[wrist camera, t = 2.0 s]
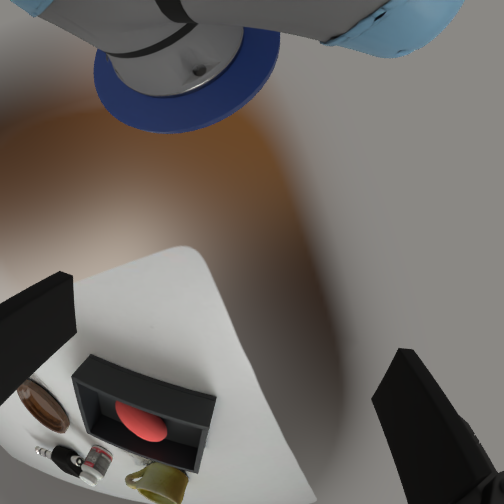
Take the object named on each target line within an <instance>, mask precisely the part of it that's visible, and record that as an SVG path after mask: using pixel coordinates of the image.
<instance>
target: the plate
mask: <svg viewBox="0 0 504 504" xmlns="http://www.w3.org/2000/svg"><path fill="white" fill-rule="evenodd" d="M17 393H18V395H19V397H20V399H21V401H22V403H23V404H24V405H25V407H26V408H27V410H28V411H29V412H30V413H31V414H32V415H33V416H34V417H35V418H36V419H37V420H38V421H39V422H40V423H42V424H43V425H44V426H46V427H47V428H49V429H50V430H52V431H54V432H57V433H65V432H66V431H67V429H68V428H69V425H70V423H69V420H68V417H67V415H66V414H65V412H64V411H63V409H62V408H61V406H60V405H59V404H58V403H57V401H56V400H55V399H54V398H53V397H52V396H51V395H50V394H49V393H48V392H47V391H45V390H44V389H43V388H42V387H40V386H39V385H37V384H35V383H34V382H32V381H29V380H26V381H25V382H24V383H23V384H22V385H21V386H20V387H19V388H18V389H17Z"/></svg>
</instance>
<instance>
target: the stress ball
mask: <svg viewBox="0 0 504 504" xmlns="http://www.w3.org/2000/svg"><path fill="white" fill-rule="evenodd" d="M115 407H116V411H117V414H118V416H119V418H120V420H121V421H122V422H123V423H124V425H125V426H126V427H127V428H128V429H129V430H131V431H132V432H133V433H134V434H136V435H137V436H139V437H140V438H142V439H144V440H147V441H151V442H159V441H161V440H163V439H164V438H165V437H166V436H167V427H166V425H165V423H164V422H163V420H162V419H161V418H160V417H159V416H156V415H153V414H150V413H148V412H145V411H142V410H139V409H137V408H134V407H131V406H129V405H126V404H124V403H121V402H119V401H116V403H115Z"/></svg>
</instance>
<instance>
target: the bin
mask: <svg viewBox="0 0 504 504" xmlns="http://www.w3.org/2000/svg"><path fill="white" fill-rule="evenodd" d="M71 377H72V382H73V386H74V390H75V394H76V398H77V402H78V405H79V409H80V412H81V416H82V419H83V422H84V425H85V428H86V431H87V433H88V434H90V435H92V436H94V437H96V438H98V439H100V440H102V441H105V442H107V443H109V444H111V445H114V446H116V447H118V448H121V449H123V450H126V451H128V452H131V453H133V454H136V455H138V456H141V457H144V458H147V459H150V460H152V461H155V462H158V463H161V464H165V465H168V466H171V467H175V468H178V469H182V470H185V471H189V472H193V473H197V474H198V472H199V468H200V464H201V459H202V455H203V451H204V447H205V443H206V439H207V435H208V431H209V427H210V422H211V418H212V414H213V410H214V406H215V402H216V397H215V396H211V395H207V394H203V393H199V392H195V391H192V390H188V389H185V388H181V387H178V386H175V385H171V384H168V383H165V382H162V381H159V380H156V379H153V378H150V377H147V376H144V375H141V374H139V373H136V372H133V371H131V370H128V369H125V368H123V367H120V366H118V365H115V364H113V363H110V362H108V361H105V360H103V359H101V358H98V357H96V356H94V355H92V354H90V355H89V357H88V358H87V359H86V360H85V361H84V362H83V363H82V364H81V366H80V367H79V368H78V369H77V370H76V371H75V372H74V374H73V375H72V376H71ZM116 401H119V402H121V403H124V404H126V405H129V406H131V407H134V408H137V409H139V410H142V411H145V412H148V413H150V414H153V415H156V416H159V417H160V418H161V419H162V420H163V422H164V423H165V425H166V427H167V436H166V437H165V438H164V439H163V440H161V441H159V442H151V441H147V440H144V439H142V438H140V437H139V436H137V435H136V434H134V433H133V432H132V431H131V430H129V429H128V428H127V427H126V426H125V425H124V423H123V422H122V421H121V420H120V418H119V416H118V414H117V411H116V407H115V403H116Z"/></svg>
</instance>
